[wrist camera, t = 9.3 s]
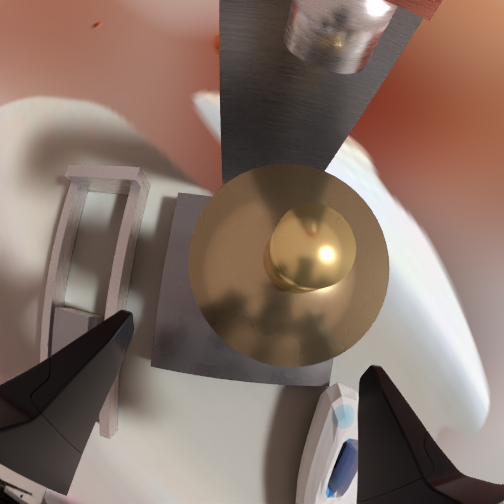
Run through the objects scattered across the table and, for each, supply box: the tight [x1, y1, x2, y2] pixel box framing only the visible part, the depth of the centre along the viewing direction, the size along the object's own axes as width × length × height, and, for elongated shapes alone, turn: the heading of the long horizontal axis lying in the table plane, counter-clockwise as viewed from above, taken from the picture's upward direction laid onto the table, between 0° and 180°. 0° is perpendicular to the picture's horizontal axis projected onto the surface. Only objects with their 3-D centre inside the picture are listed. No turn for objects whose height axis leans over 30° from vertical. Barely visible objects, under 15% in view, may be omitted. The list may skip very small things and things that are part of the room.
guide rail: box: [40, 164, 150, 439], centre depth 17 cm, size 20×6×3 cm, turn 173°
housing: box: [188, 164, 389, 367], centre depth 12 cm, size 5×5×14 cm
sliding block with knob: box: [52, 307, 104, 355], centre depth 15 cm, size 8×3×6 cm, turn 173°
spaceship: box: [295, 382, 359, 504], centre depth 15 cm, size 23×7×4 cm, turn 10°
